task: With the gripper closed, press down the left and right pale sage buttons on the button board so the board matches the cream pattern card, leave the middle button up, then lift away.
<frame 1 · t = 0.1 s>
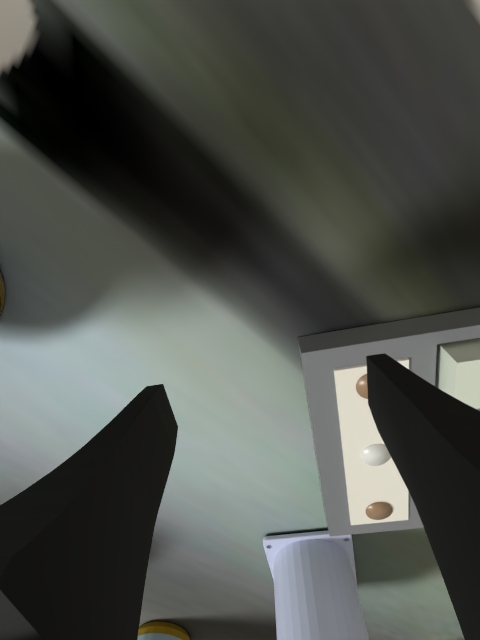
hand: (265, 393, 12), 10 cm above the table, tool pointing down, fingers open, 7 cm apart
bottle: (163, 632, 41), on the table
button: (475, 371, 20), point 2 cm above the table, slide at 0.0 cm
button board: (450, 420, 25), on the table
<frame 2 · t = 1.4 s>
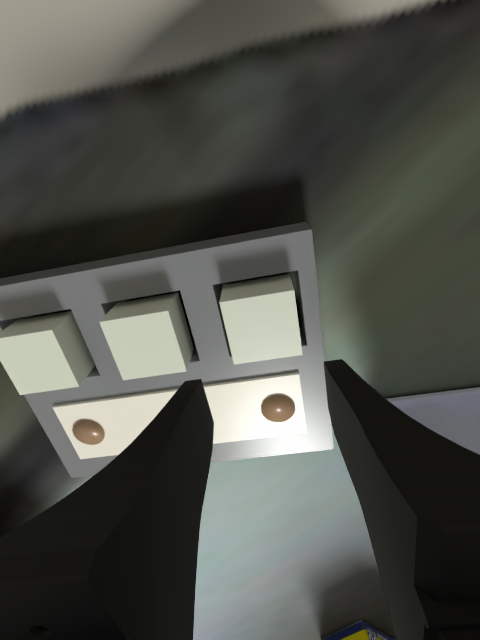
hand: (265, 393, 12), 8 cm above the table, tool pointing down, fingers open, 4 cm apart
supplement box: (358, 636, 36), on the table
button board: (161, 317, 20), on the table
middle button: (150, 336, 18), point 2 cm above the table, slide at 0.0 cm
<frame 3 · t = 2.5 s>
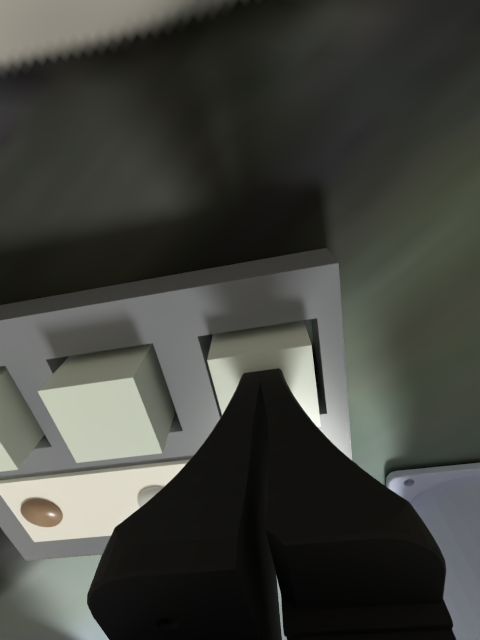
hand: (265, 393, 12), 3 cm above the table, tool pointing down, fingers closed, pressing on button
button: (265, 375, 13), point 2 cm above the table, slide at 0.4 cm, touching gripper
button board: (133, 368, 15), on the table
middle button: (114, 401, 13), point 2 cm above the table, slide at 0.0 cm
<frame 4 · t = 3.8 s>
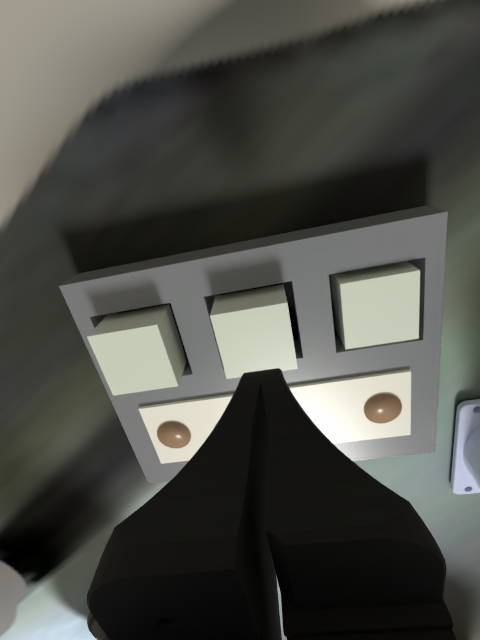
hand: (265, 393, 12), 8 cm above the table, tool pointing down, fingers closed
apothecary jar: (138, 622, 35), on the table
button board: (255, 312, 19), on the table
middle button: (255, 331, 17), point 2 cm above the table, slide at 0.0 cm
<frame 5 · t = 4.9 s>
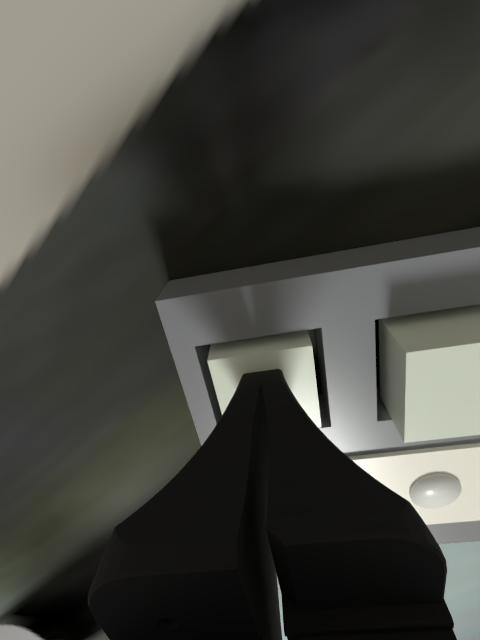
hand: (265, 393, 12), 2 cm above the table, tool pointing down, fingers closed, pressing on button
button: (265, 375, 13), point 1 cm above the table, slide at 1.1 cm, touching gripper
button board: (415, 337, 13), on the table
middle button: (445, 371, 11), point 2 cm above the table, slide at 0.0 cm
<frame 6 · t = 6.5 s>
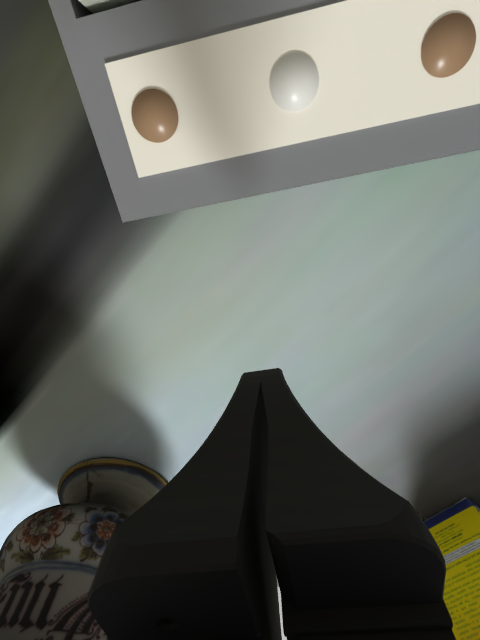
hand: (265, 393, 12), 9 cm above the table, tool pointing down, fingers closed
apothecary jar: (119, 496, 29), on the table
supplement box: (456, 525, 29), on the table
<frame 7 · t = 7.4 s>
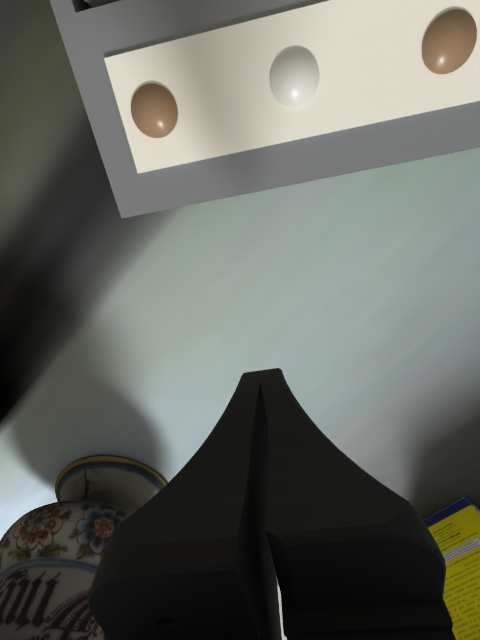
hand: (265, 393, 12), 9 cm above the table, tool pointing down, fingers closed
apothecary jar: (117, 494, 29), on the table
supplement box: (454, 524, 29), on the table
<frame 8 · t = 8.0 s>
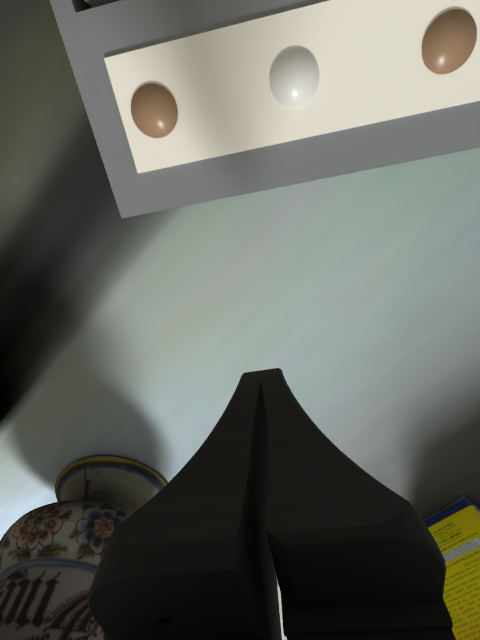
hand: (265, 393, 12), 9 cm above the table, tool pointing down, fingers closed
apothecary jar: (117, 494, 29), on the table
supplement box: (454, 524, 29), on the table
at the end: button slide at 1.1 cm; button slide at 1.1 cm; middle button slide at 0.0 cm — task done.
